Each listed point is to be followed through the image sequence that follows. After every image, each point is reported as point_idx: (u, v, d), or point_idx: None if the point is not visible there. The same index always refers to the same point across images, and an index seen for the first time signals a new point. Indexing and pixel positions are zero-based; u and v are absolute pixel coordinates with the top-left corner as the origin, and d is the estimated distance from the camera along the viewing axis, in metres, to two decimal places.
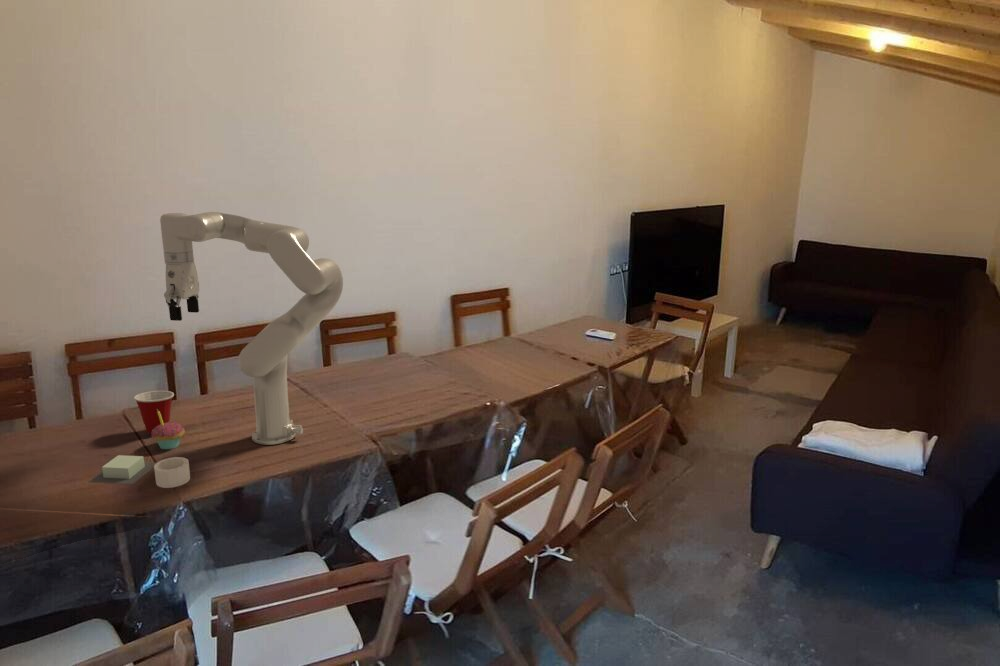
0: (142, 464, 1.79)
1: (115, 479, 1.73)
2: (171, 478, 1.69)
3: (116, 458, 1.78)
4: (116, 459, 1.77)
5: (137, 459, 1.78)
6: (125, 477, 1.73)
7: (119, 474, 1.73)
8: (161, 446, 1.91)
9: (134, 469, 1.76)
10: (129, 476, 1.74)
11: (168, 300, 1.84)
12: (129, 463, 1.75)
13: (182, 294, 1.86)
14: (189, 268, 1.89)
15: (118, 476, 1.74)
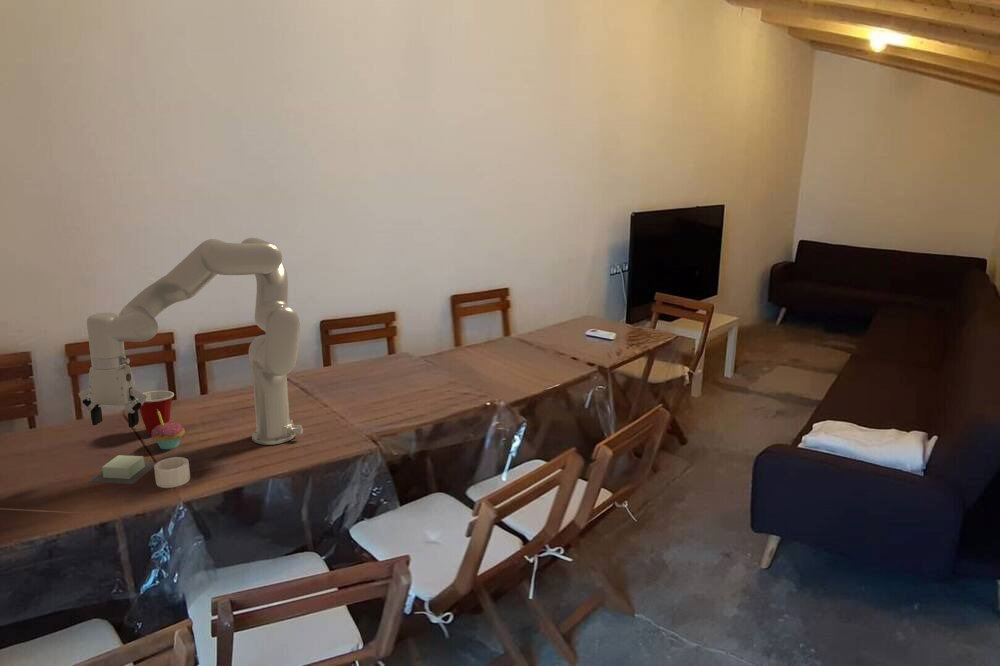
0: (142, 464, 1.79)
1: (115, 479, 1.73)
2: (171, 478, 1.69)
3: (116, 458, 1.78)
4: (116, 459, 1.77)
5: (137, 459, 1.78)
6: (125, 477, 1.73)
7: (119, 474, 1.73)
8: (161, 446, 1.91)
9: (134, 469, 1.76)
10: (129, 476, 1.74)
11: (143, 403, 1.71)
12: (129, 463, 1.75)
13: None
14: None
15: (118, 476, 1.74)
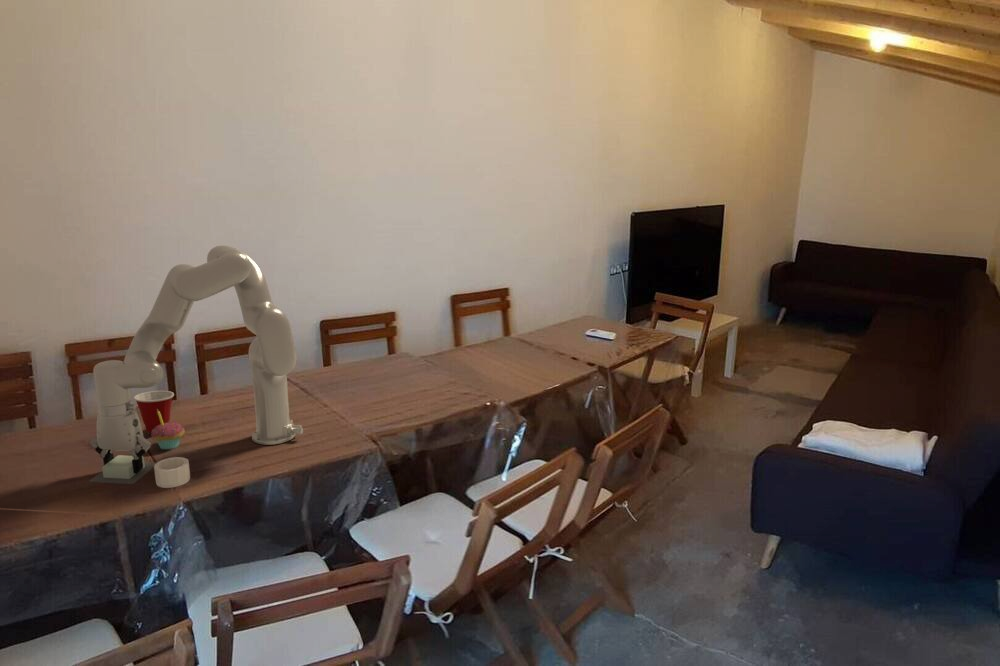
0: None
1: (115, 479, 1.73)
2: (171, 478, 1.69)
3: (116, 458, 1.78)
4: (116, 459, 1.77)
5: None
6: (125, 477, 1.73)
7: (119, 474, 1.73)
8: (161, 446, 1.91)
9: None
10: (129, 476, 1.74)
11: None
12: (129, 463, 1.75)
13: None
14: None
15: (118, 476, 1.74)
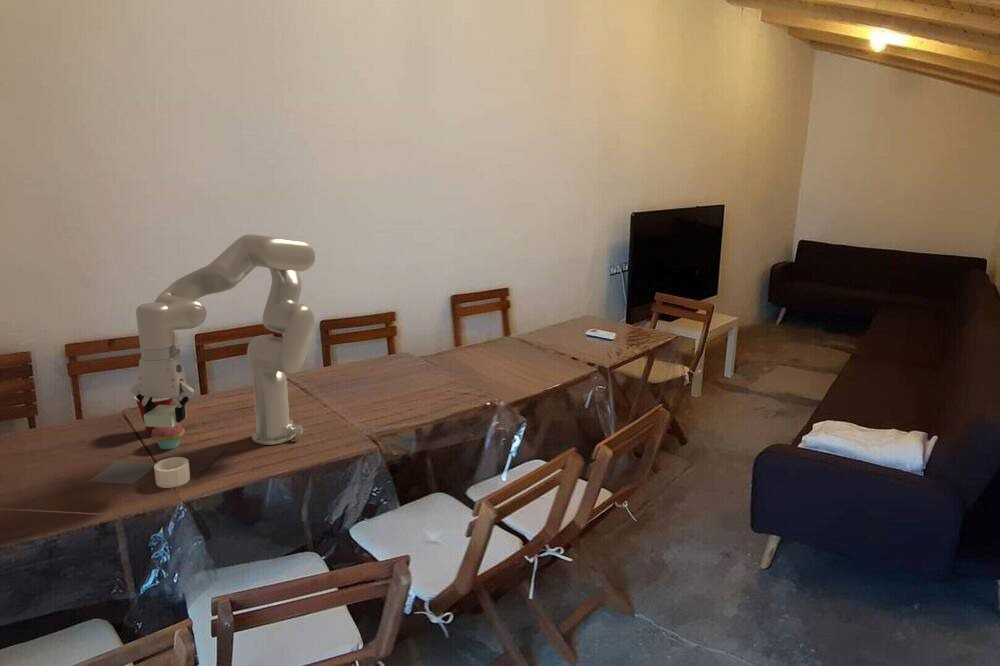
0: None
1: (115, 479, 1.73)
2: (171, 478, 1.69)
3: (157, 407, 1.70)
4: (157, 408, 1.69)
5: None
6: (168, 426, 1.65)
7: (162, 423, 1.65)
8: (161, 446, 1.91)
9: None
10: (172, 425, 1.66)
11: (190, 397, 1.67)
12: (171, 411, 1.67)
13: None
14: None
15: (160, 425, 1.65)
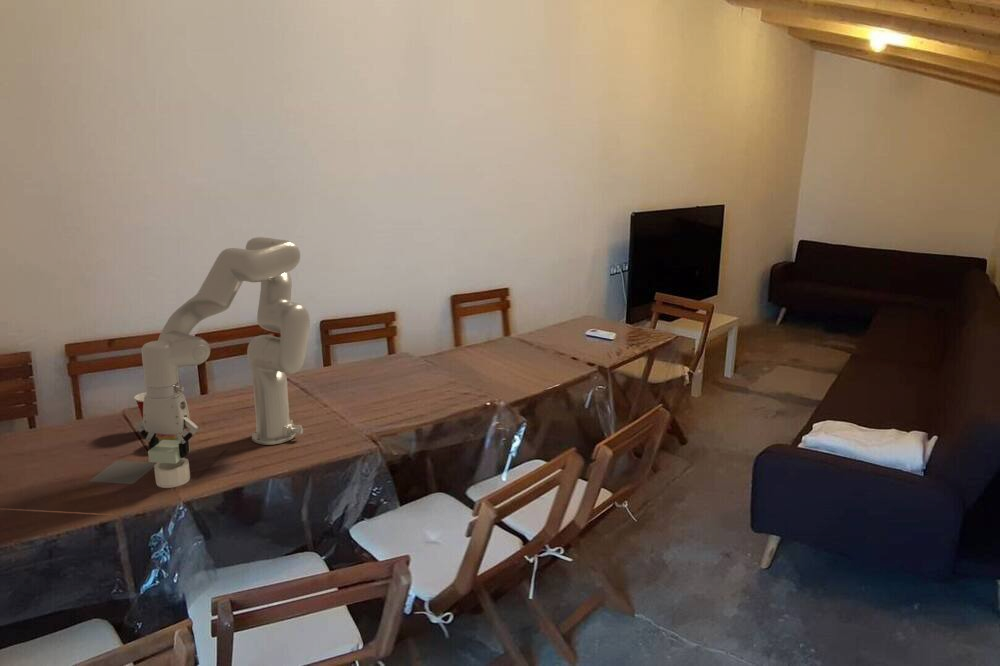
0: None
1: (115, 479, 1.73)
2: (171, 478, 1.69)
3: (161, 442, 1.72)
4: (161, 443, 1.72)
5: None
6: (172, 462, 1.68)
7: (165, 459, 1.68)
8: None
9: None
10: (176, 461, 1.68)
11: (194, 433, 1.70)
12: (175, 447, 1.70)
13: None
14: None
15: (164, 461, 1.68)
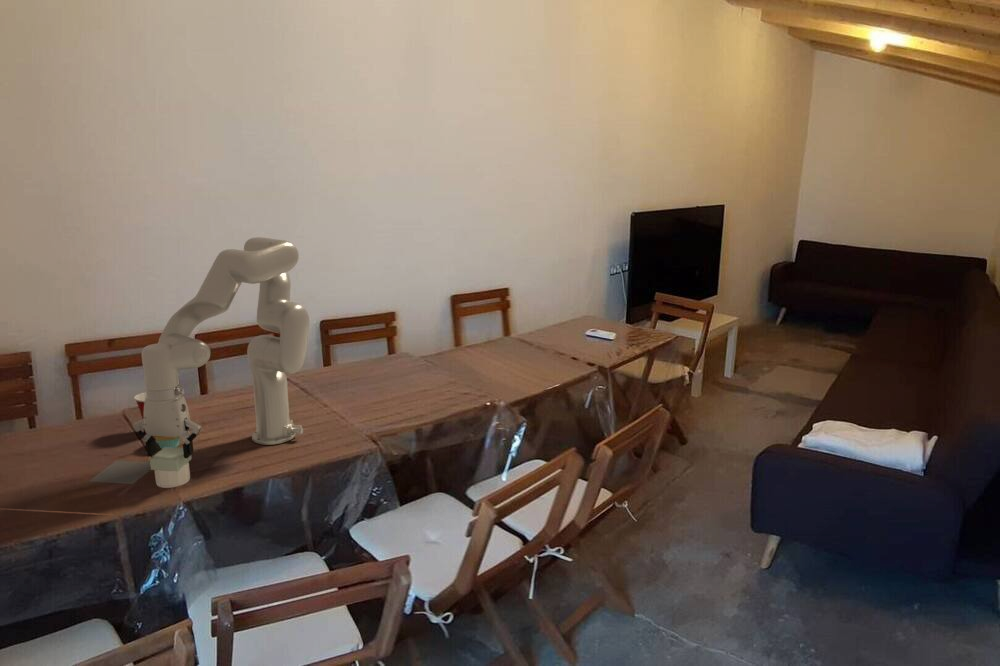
0: (189, 456, 1.74)
1: (115, 479, 1.73)
2: (171, 478, 1.69)
3: (163, 450, 1.73)
4: (163, 451, 1.73)
5: None
6: (173, 469, 1.69)
7: (167, 466, 1.69)
8: (161, 446, 1.91)
9: (182, 461, 1.71)
10: (177, 468, 1.69)
11: (197, 433, 1.70)
12: (177, 455, 1.71)
13: None
14: None
15: (166, 468, 1.69)
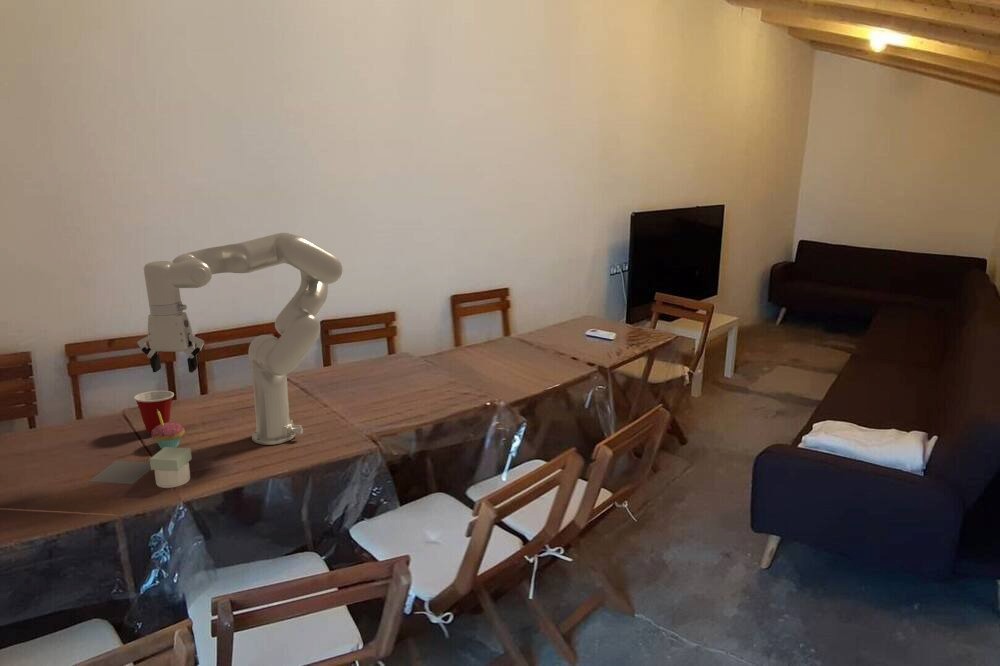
0: (189, 456, 1.74)
1: (115, 479, 1.73)
2: (171, 478, 1.69)
3: (163, 450, 1.73)
4: (163, 451, 1.73)
5: (184, 451, 1.73)
6: (173, 469, 1.69)
7: (167, 466, 1.69)
8: (161, 446, 1.91)
9: (182, 461, 1.71)
10: (177, 468, 1.69)
11: (201, 348, 1.76)
12: (177, 455, 1.71)
13: None
14: None
15: (166, 468, 1.69)
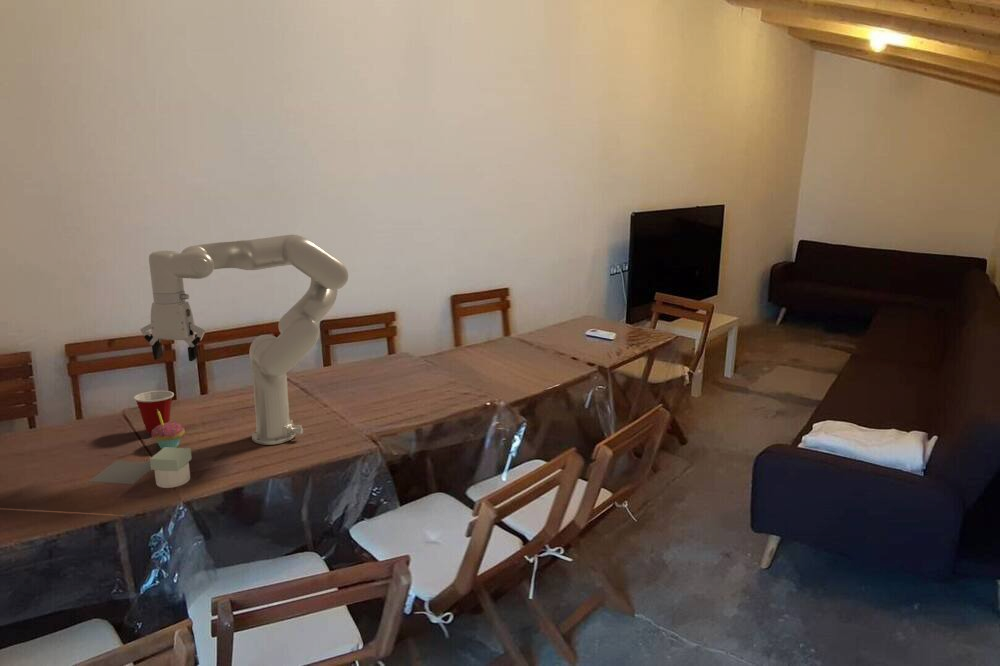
0: (189, 456, 1.74)
1: (115, 479, 1.73)
2: (171, 478, 1.69)
3: (163, 450, 1.73)
4: (163, 451, 1.73)
5: (184, 451, 1.73)
6: (173, 469, 1.69)
7: (167, 466, 1.69)
8: (161, 446, 1.91)
9: (182, 461, 1.71)
10: (177, 468, 1.69)
11: (202, 337, 1.80)
12: (177, 455, 1.71)
13: None
14: None
15: (166, 468, 1.69)
